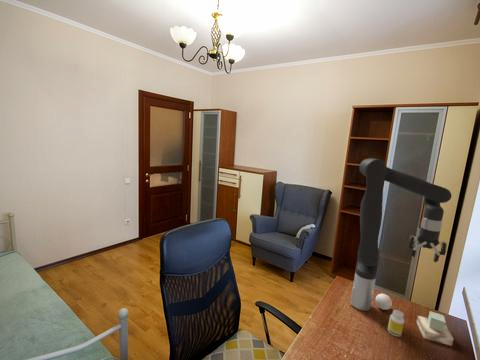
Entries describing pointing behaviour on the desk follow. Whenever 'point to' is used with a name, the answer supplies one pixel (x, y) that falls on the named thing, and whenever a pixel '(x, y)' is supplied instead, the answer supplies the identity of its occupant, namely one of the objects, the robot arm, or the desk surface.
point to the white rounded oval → (383, 301)
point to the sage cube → (436, 321)
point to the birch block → (434, 332)
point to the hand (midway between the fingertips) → (423, 259)
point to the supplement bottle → (396, 323)
